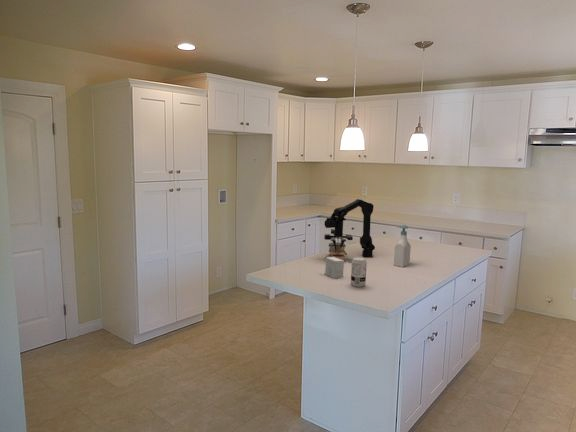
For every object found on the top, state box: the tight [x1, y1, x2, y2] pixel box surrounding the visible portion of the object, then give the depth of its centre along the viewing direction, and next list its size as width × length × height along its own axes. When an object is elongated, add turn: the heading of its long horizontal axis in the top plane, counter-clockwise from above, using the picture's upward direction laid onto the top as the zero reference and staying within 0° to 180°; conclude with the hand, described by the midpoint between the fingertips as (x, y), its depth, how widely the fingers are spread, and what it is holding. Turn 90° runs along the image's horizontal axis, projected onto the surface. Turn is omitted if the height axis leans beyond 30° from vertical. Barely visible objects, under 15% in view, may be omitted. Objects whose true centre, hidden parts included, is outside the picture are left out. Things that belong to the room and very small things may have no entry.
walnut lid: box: [328, 245, 348, 256], centre depth 288 cm, size 11×11×5 cm
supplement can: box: [350, 257, 368, 288], centre depth 236 cm, size 8×8×15 cm
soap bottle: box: [393, 224, 412, 268], centre depth 283 cm, size 11×8×27 cm
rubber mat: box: [345, 258, 353, 264], centre depth 290 cm, size 12×12×1 cm
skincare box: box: [324, 256, 345, 279], centre depth 254 cm, size 10×6×10 cm, turn 30°
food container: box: [328, 242, 346, 257], centre depth 303 cm, size 12×6×10 cm, turn 84°
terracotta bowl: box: [331, 255, 345, 261], centre depth 289 cm, size 9×9×4 cm
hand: (337, 249), depth 288 cm, fingers closed on walnut lid, 3 cm apart
